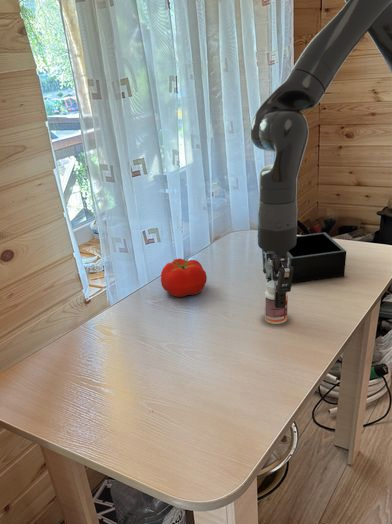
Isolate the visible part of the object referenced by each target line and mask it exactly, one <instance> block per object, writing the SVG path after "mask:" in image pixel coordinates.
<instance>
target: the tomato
mask: <svg viewBox="0 0 392 524" xmlns="http://www.w3.org/2000/svg"><path fill="white" fill-rule="evenodd" d="M207 278H208V277H207V272H206V271H205V270H204V268H203V265H202V264H201V263H200V261H199V260H196V259H190V260H189V258H188V259H183V258H174V259H173V260H171V262H167V263H166V264H165V265H164V267H163V268H162V270H161V273H160V284H161V287H162V288H163V290H164V291H166V292H167V293H168V294H170V295H171V296H173V297H177V298H185V297H186V296H187V295H188V296H193V295H198V294H199V293H200V292H201V291H202V290H204V288H205V286H206V284H207Z"/></svg>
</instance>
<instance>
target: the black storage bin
mask: <svg viewBox="0 0 392 524" xmlns="http://www.w3.org/2000/svg"><path fill="white" fill-rule="evenodd" d="M287 255H288V256H289V265H288V266H289V267H291V266H292V267H293V269H294V271H293V278H292V285H296V284H303V283H309V282H317V281H323V280H324V281H325V280H331V279H338V278H344V277H345V271H346V262H347V250H346V249H345V248H343V246H341V245H340V244H339V243H338V242H337V241H336V240H334V239H333V238H332V237H331V236H330V235H329V234H328V233H327V232H324V231H323V232H317V233H316V232H315V233H309V234H301V235H297V242H296V246H295V247H294V248H292V249H290V250H289V251H288V252H287Z"/></svg>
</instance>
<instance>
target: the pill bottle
mask: <svg viewBox="0 0 392 524" xmlns="http://www.w3.org/2000/svg"><path fill="white" fill-rule="evenodd" d="M283 285H284V284H283ZM274 298H275V291H274V281H273V280H271V281H269V282H267V281H266V290H265V292H264V320H265V321H266V322H267V323H268V324H270V325H271V324H273V325H281V324H283V323H285V322H286V321H288V307H289V306H288V302H289V300H288V299H289V292H286V306H285V307H283V308H276V307H275V306H274Z"/></svg>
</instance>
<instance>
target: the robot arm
mask: <svg viewBox="0 0 392 524" xmlns="http://www.w3.org/2000/svg"><path fill="white" fill-rule="evenodd" d="M343 1H344V2H345V5H343V7H342V8H341V9H340V10H339V11H338V12H337V14H336V15H335V16H334V17H333V18H332V19H330V20H329V21H328V23H327V24H326V25H325V26H324V27H322V28H321V30H320V31H319V32H318V33H317V34H316V35H315V36H314V37H313V38H312V39H311V40H310V42H309V43H308V44H307V45H306V47H305V48H304V50H303V51H302V52H301V54H300V56H299V57H298V59H297V60H296V62H295V64H294V65H293V66H292V68H291V70H290V72H289V73H288V76H287V78H286V79H285V80H284V81H283V82H282V83H281V84H280V85H279V86H278V87H277V88H276V89H275V90H273V92H272V93H271V94H270V95H269V96H268V97H267V98H266V99H265V101H263V103H262V104H261V105H260V106H259V108H258V109H257V110H256V111H255V114H254V115H253V117H252V120H251V123H250V127H249V136H250V140H251V142H252V144H253V146H255V147H256V148H257V149H260V150H261V151H268V152H273V153H275V157H274V161H273V163H272V164H271V163H270V164H268V165H265V166H263V167H262V168H260V171H259V173H258V206H257V246H258V247H259V248H260V249H261V253H262V256H261V257H262V271H263V274H265V279H266V283H267V282H269V281H271V280H273V281H274V291H275V298H274V306H275V307H276V308H283V307H285V306H286V292H287V293H290V292H291V291H292V285H293V284H292V278H293V271H294V269H293V267H292V266H291V267H289V266H288V265H289V256H288V255H287V252H288V251H289V250H290V249H292V248H294V247H295V246H296V242H297V236H298V215H299V213H298V211H299V210H298V176H299V174H300V173H299V172H300V169H301V167H302V162H303V159H304V156H305V153H306V149H307V145H308V141H309V135H310V130H309V129H310V128H309V123H308V120H307V118H306V116H305V115H304V113H302V112H304V111H309V110H312V109H314V108H315V107H317V106H318V104H319V103H320V102H321V101H322V99H323V97H324V95H325V94H326V92H327V91H328V89H329V87H330V86H331V84H332V82H333V81H334V79H335V78H336V76H337V74H338V72H339V71H340V69H341V68H342V66H343V65H344V63H345V62H346V60H347V59H348V57H349V56H350V55H351V53H352V52H353V51H354V49H355V48H356V46H357V45H358V44H359V43H360V42H361V40H362V39H363V38H364V36H365V35H366V34H368V35H369V37H370V38H371V40H372V42H373V43H374V45H375V47H376V49H377V51H378V52H379V53H380V55H381V57H382V58H383V60H384V62H385V64H386V65H387V66H388V68H389V70H390V73H391V74H392V0H343ZM283 284H284V285H283Z"/></svg>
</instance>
